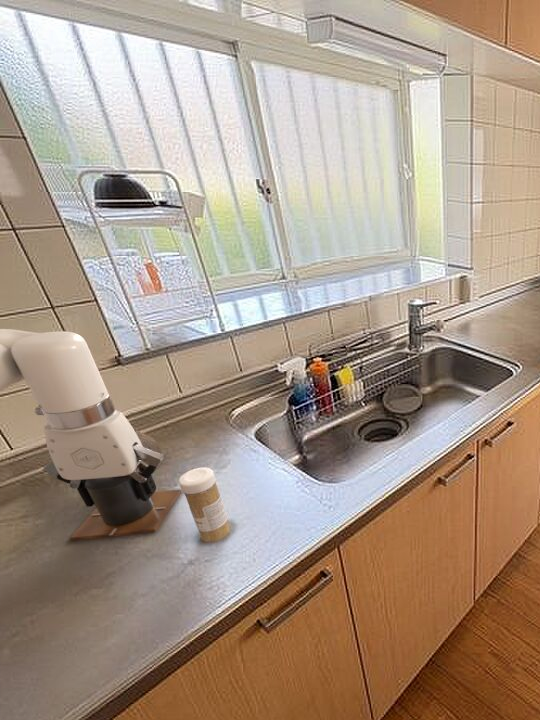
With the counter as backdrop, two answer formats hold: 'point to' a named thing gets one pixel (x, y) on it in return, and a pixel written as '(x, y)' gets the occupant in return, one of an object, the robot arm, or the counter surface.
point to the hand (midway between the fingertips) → (122, 497)
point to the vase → (148, 444)
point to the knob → (117, 499)
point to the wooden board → (147, 523)
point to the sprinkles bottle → (205, 504)
